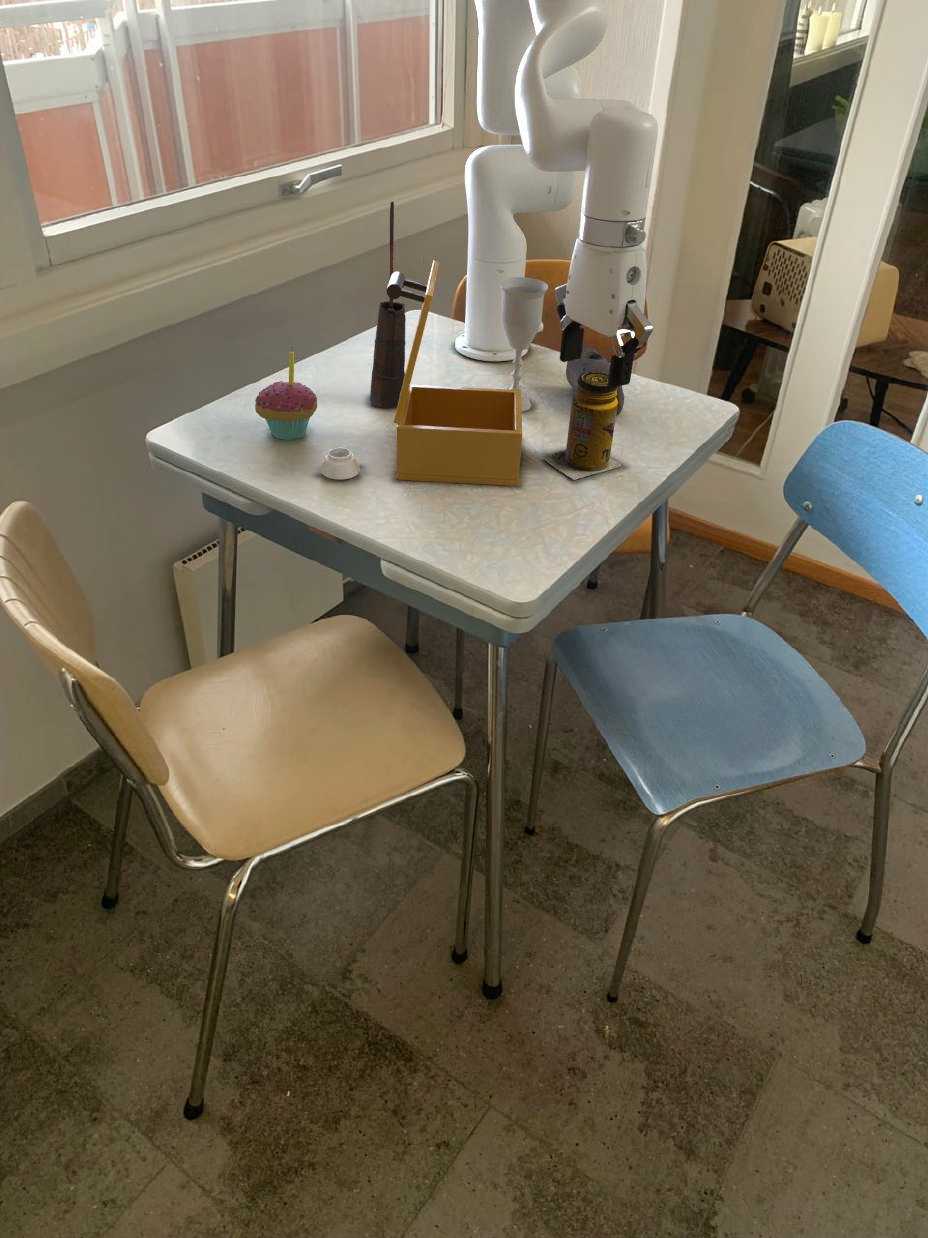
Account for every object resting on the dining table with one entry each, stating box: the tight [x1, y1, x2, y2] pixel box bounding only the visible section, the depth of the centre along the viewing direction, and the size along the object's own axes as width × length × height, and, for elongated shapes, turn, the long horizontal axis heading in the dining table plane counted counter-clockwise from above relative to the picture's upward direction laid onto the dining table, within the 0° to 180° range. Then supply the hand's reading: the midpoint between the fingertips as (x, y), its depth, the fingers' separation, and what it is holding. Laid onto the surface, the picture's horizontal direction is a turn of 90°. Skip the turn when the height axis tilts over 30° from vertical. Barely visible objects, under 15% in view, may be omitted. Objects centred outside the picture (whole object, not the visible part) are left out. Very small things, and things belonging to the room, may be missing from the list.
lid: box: [386, 259, 441, 425], centre depth 115 cm, size 17×14×5 cm
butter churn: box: [369, 201, 406, 409], centre depth 130 cm, size 9×10×28 cm
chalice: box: [500, 276, 549, 412], centre depth 134 cm, size 7×7×18 cm
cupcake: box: [254, 345, 318, 441], centre depth 125 cm, size 9×8×12 cm
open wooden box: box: [396, 383, 523, 487], centre depth 123 cm, size 16×14×7 cm
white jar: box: [320, 447, 361, 481], centre depth 119 cm, size 5×3×5 cm
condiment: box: [540, 372, 623, 481], centre depth 122 cm, size 7×8×12 cm
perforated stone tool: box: [565, 346, 625, 417], centre depth 139 cm, size 15×5×7 cm, turn 18°
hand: (593, 372), depth 117 cm, fingers open, 9 cm apart
